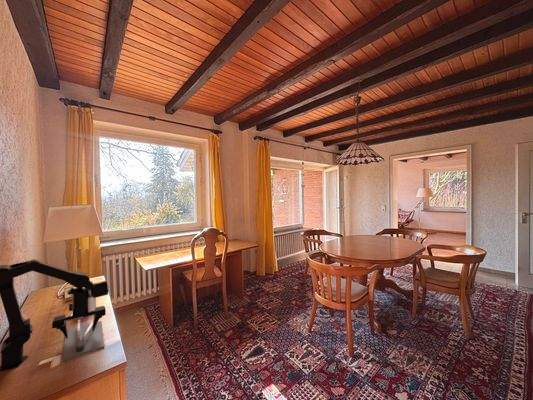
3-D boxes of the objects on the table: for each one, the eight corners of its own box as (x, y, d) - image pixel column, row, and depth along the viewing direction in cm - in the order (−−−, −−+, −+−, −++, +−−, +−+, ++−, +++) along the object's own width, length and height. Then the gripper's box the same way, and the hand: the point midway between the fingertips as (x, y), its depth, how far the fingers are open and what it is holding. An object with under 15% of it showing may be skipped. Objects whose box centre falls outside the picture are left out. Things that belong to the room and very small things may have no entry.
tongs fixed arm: (83, 350, 96) (83, 340, 96) (75, 352, 95) (76, 342, 95) (83, 326, 114) (84, 317, 114) (77, 327, 113) (77, 319, 113)
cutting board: (104, 347, 100) (104, 345, 100) (62, 361, 91) (62, 359, 91) (101, 322, 120) (101, 320, 120) (66, 332, 111) (66, 330, 111)
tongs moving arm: (84, 346, 98) (84, 338, 98) (81, 347, 98) (81, 338, 98) (97, 323, 117) (97, 315, 117) (95, 323, 117) (95, 316, 117)
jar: (74, 313, 129) (74, 292, 129) (90, 307, 136) (91, 287, 136) (81, 317, 125) (81, 295, 125) (98, 311, 132) (98, 290, 132)
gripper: (104, 290, 116) (103, 320, 116) (55, 300, 105) (54, 333, 105) (105, 298, 108) (105, 330, 108) (52, 309, 96) (51, 345, 96)
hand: (80, 334), depth 104 cm, fingers open, 9 cm apart
